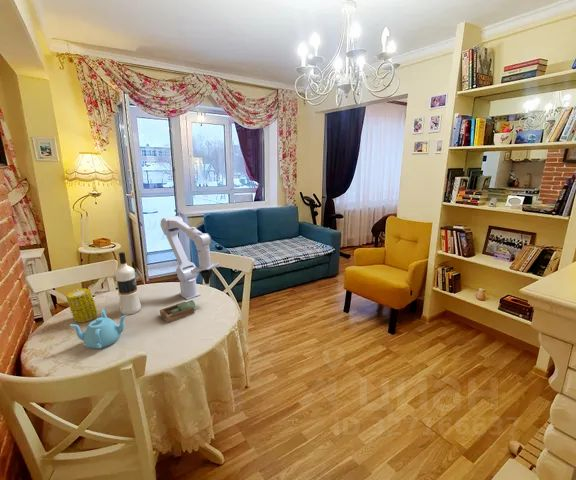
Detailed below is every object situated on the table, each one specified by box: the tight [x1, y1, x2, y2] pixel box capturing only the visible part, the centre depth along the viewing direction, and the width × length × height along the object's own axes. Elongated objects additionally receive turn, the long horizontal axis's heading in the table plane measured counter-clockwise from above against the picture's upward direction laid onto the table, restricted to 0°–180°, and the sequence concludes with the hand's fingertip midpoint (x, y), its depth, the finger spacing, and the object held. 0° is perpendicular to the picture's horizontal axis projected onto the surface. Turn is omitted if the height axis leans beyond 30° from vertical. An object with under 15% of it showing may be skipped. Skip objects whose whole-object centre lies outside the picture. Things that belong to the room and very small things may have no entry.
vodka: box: [114, 251, 142, 316], centre depth 144 cm, size 9×9×30 cm
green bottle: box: [170, 299, 197, 315], centre depth 143 cm, size 5×5×11 cm
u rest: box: [159, 301, 195, 324], centre depth 142 cm, size 9×13×3 cm
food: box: [65, 287, 98, 323], centre depth 139 cm, size 15×12×10 cm
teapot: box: [69, 308, 128, 350], centre depth 121 cm, size 15×15×10 cm
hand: (207, 283), depth 152 cm, fingers closed
